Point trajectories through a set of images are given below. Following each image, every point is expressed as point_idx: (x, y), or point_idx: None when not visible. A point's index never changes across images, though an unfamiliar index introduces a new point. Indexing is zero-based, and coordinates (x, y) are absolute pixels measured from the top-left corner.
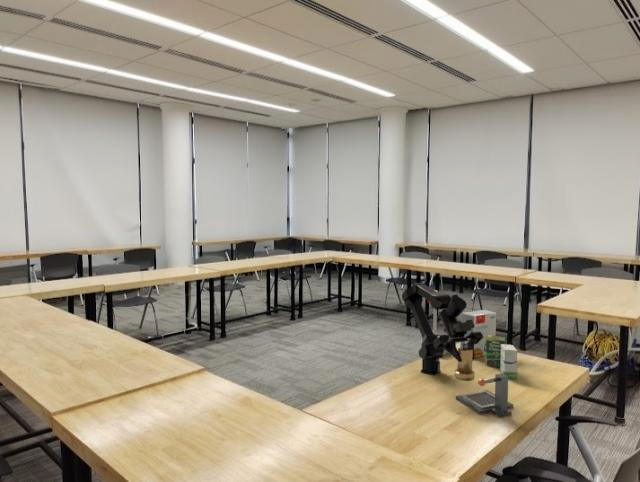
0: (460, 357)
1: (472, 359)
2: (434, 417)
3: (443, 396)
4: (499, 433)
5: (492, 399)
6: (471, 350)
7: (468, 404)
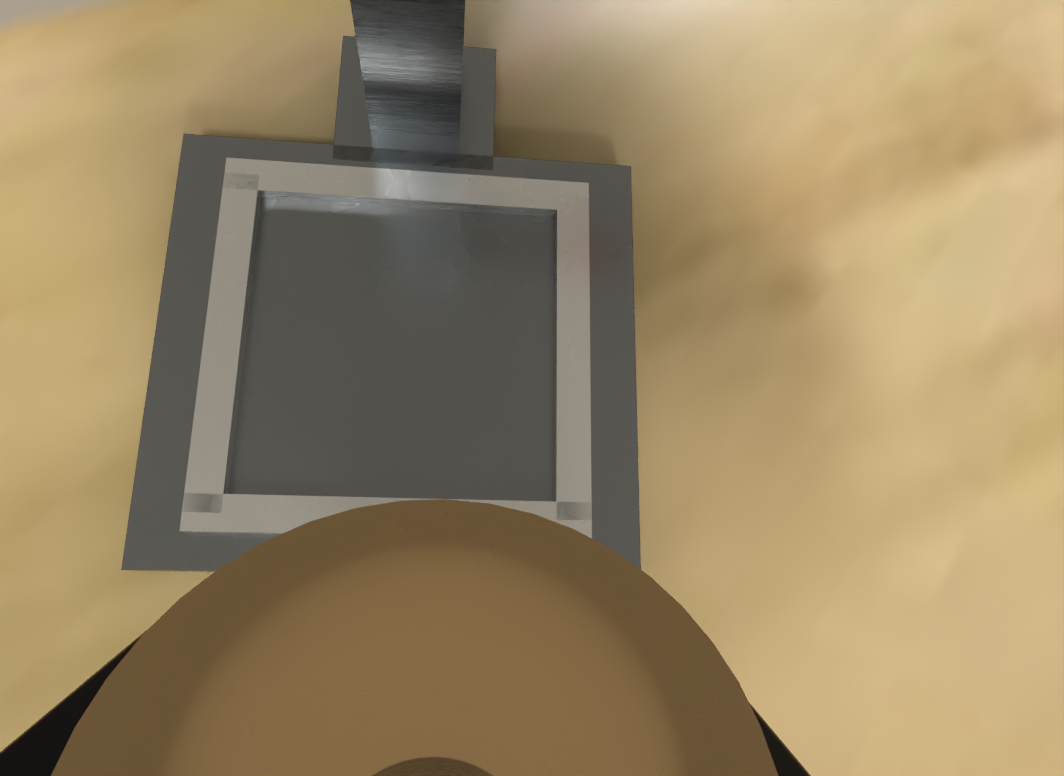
0: None
1: None
2: (1048, 309)
3: None
4: None
5: (293, 319)
6: (227, 633)
7: (633, 338)
